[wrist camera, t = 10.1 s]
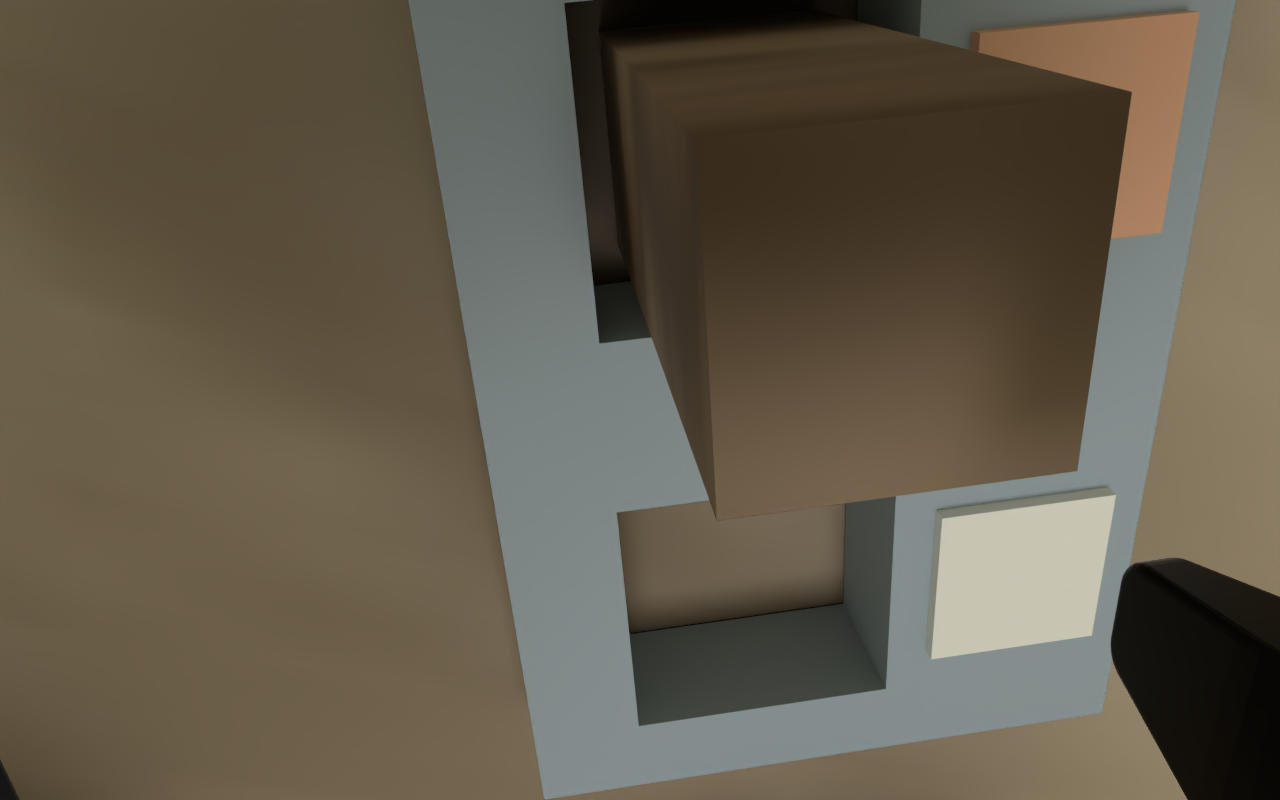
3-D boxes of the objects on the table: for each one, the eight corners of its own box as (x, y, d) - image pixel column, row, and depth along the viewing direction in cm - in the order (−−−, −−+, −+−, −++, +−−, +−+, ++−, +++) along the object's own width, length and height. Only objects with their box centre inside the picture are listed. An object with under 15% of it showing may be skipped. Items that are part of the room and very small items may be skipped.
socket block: (1038, 629, 25) (1109, 722, 22) (540, 702, 24) (545, 810, 21) (1150, -171, 17) (1286, -193, 14) (408, -111, 16) (385, -121, 13)
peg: (814, 222, 19) (1077, 471, 10) (618, 245, 19) (716, 520, 10) (814, 10, 18) (1131, 91, 9) (598, 31, 17) (697, 140, 8)
